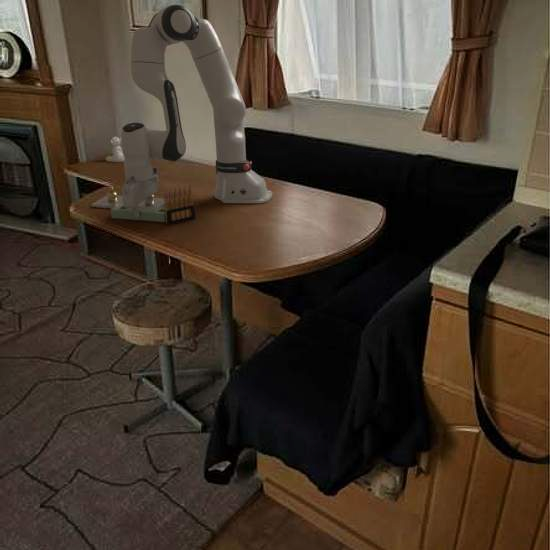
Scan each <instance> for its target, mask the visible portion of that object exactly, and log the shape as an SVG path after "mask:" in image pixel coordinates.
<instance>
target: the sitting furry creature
mask: <svg viewBox="0 0 550 550" xmlns="http://www.w3.org/2000/svg"><path fill="white" fill-rule="evenodd" d="M110 144H111V146H112V151H111V152H112V155H108V156H106V157H105V160H106V162H109V163H124V161H125V159H124V155H123V152H122V146H121V144H122V143H121V137H118V136H113V137H112V138H111V139H110Z"/></svg>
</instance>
